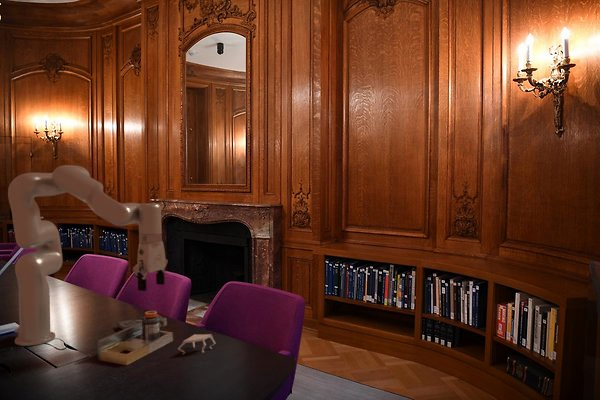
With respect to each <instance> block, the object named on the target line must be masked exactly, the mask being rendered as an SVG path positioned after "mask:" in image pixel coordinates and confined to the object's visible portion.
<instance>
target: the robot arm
mask: <svg viewBox="0 0 600 400" xmlns="http://www.w3.org/2000/svg"><path fill="white" fill-rule="evenodd" d="M65 193H67V194H68V193H69V194H70V195H72V196H74V197H75V198H77V199H78V200H80V201H82V202H83V203H84V204H86V205H87V207H88V208H90V209H91V211H92V212H93V213H94V214H95V215H97V216H99V217H100V218H102V220H105V221H106V222H109V223H110V224H112V225H114V226H117V227H119V226H120V227H125V226H127V225H128V226H129V225H133V224H138V242H139V243H138V247H137V248H138V249H137V259H136V260H137V264H135V265H134V266H133V267H132V270H133V273H134V276H135V279H136V280H137V291H142V292H146V291H147V289H148V287H147V286H148V284H147V282H148V281H147V279H146V277H147V275H148V273H149V274H151V273H155V279H156V280H155V282H156V283H155V284H156V285H161V286H163V285H165V283H166V281H165V274H166V269H167V268H168V262H169V260H168V259H167V258H166V251H165V250H166V249H165V246H164V242H163V239H162V237H163V236H162V234H163V232H162V206H161V204H160V203H156V202H154V203H151V202H150V203H148V202H147V203H138V202H124V203H121V202H119V201H117V200H115V199H113V197H110V196H109V195H107V194H106V193H105V192H104V185H103V183H101V182H100V181H98V180H96V179H94V178H92V177H91V174H90V172H89V171H88V170H87V168H85V167H83V166H80V165H72V164H63V165H60V166H57V167H56V168H55V169H54V170H53V172H26V173H22V174H20V175H17V176H15V178H13V180H12V181H11V183H10V184H9V186H8V190H7V195H8V196H7V197H8V202H9V206H10V210H11V215H12V217H11V218H12V224H13V230H14V236H15V242H16V244H17V245H18V247H20V248H21V249H24V250H31V249H35V251H33V252H32V251H31V252H28V253H26V254H24V255H22V256H20V257H19V258H18V259H17V261H16V263H15V265H14V266H15V267H14V271H15V275H16V280H17V286H18V309H19V310H18V315H19V325H18V326H17V328H15V329H14V330H13V331H14V333H16V334H18V336H16V338H15V339H14V344H15V345H17V346H22V347H23V346H24V347H25V346H26V347H29V346H37V345H43V344H46V343H49V342H51V341H53V340H54V339H55V338H56V333H55V332H54V331H51V299H50V297H51V295H50V286H49V283H48V281H47V278H46V277H47V276H49V275H52V274H55V273H57V272H58V271H60V269H61V268H62V266H63V261H64V260H63V259H64V258H63V251H62V245H61V237H60V236H61V235H60V231H59V230H58V228H57V226H56V225H55V223H53V222H51V221H49V220H44V219H43V220H42V218H41V217H42V216H41V212H40V211H41V210H40V207H39V205H38V204H37V202H36V200H35V198H36V197H51V196H52V197H53V196H57V195H62V194H65Z"/></svg>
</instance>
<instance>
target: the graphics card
mask: <svg viewBox="0 0 600 400" xmlns="http://www.w3.org/2000/svg"><path fill="white" fill-rule="evenodd" d="M157 317H159V319H160V328H161V327H165V326H167V325H168V323H167V322H168V321H167V318H166V317H163V316H162V315H159V314H158V313H157ZM144 318H145V316H143V317H138V318H133V319H132V318H131V319H128V320H122V321H117V323H116V326H117V327H119V329H122V330H124V329H126V328H129V327H131V326H134V325H136V324H138V323H141V322H142V320H143V319H144Z"/></svg>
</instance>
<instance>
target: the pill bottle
mask: <svg viewBox="0 0 600 400" xmlns="http://www.w3.org/2000/svg"><path fill="white" fill-rule="evenodd" d="M157 314H158V312H157V310H148V311H145V312H144V317H145V318H144V319H143V320H142V340H148V341H154V340H156V339H158V338H160V331H161V327H160V319H161V318H160V317H159V316H158V315H157Z"/></svg>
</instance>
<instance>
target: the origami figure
mask: <svg viewBox="0 0 600 400" xmlns="http://www.w3.org/2000/svg"><path fill="white" fill-rule="evenodd" d="M208 338H209V339H210V340H211V341H212V343H213V344H210V345H209V346H208V348H209V349H210V350H211V349H213V348H212V346H214V345H215V344H216V341H215V340H214V337H213V334H211V333H209V334H207V333H206V334H196V333H194V334H193V335H191V336H190V337H188V338H186V339H185V340H183V341H182V343H181V344H180V345H179V346H178V348H177V350H178V351H180V352H182V355H185V354H186V353H187V352H186V351H185V350H183V349H181V348H183V346H184V345H186V344H187V343H192V349H195V348H196V345H195V342H201V341H202V344H203V346H202V349H201V353H202V354H203V353H205V351H204V350H205V348H206V346H207V343H206V342H205V340H207V339H208Z"/></svg>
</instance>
